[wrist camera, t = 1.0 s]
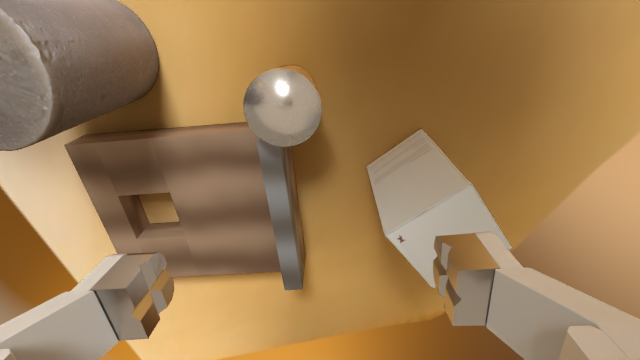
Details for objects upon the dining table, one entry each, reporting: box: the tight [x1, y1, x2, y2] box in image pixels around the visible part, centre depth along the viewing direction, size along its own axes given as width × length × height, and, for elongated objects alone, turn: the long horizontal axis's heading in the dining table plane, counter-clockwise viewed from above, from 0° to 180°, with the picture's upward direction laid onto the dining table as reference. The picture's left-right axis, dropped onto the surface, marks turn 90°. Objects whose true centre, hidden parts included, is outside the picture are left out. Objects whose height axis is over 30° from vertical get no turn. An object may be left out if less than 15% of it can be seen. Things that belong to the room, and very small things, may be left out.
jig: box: [64, 122, 306, 290], centre depth 35 cm, size 18×22×6 cm
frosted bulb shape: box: [244, 65, 322, 147], centre depth 28 cm, size 6×6×8 cm
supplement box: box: [366, 129, 512, 288], centre depth 30 cm, size 7×7×13 cm
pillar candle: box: [0, 0, 159, 151], centre depth 24 cm, size 10×10×15 cm
